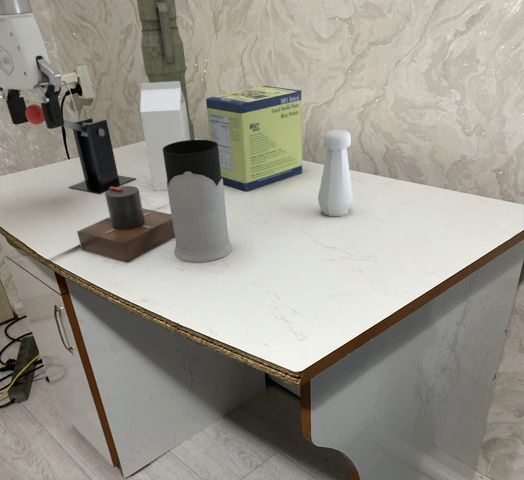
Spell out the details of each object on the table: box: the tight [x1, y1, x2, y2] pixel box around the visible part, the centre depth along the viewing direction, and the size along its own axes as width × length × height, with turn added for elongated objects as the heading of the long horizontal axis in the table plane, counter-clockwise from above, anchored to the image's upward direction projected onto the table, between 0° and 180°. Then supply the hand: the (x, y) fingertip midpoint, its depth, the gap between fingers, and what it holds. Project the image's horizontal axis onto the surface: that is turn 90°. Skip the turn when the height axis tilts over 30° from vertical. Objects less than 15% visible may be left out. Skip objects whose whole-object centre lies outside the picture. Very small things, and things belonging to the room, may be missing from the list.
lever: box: [25, 103, 89, 138], centre depth 97 cm, size 15×3×3 cm, turn 147°
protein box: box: [205, 85, 303, 192], centre depth 104 cm, size 10×16×16 cm
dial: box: [104, 185, 145, 229], centre depth 82 cm, size 5×5×5 cm
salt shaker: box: [317, 129, 354, 217], centre depth 87 cm, size 6×6×13 cm
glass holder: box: [163, 139, 233, 263], centre depth 79 cm, size 9×14×15 cm, turn 177°
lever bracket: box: [68, 117, 137, 195], centre depth 105 cm, size 10×9×13 cm
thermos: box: [136, 0, 196, 140], centre depth 116 cm, size 9×12×35 cm
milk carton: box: [139, 81, 190, 192], centre depth 100 cm, size 7×7×19 cm
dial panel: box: [76, 207, 175, 263], centre depth 84 cm, size 12×10×3 cm
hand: (38, 124), depth 93 cm, fingers open, 9 cm apart
